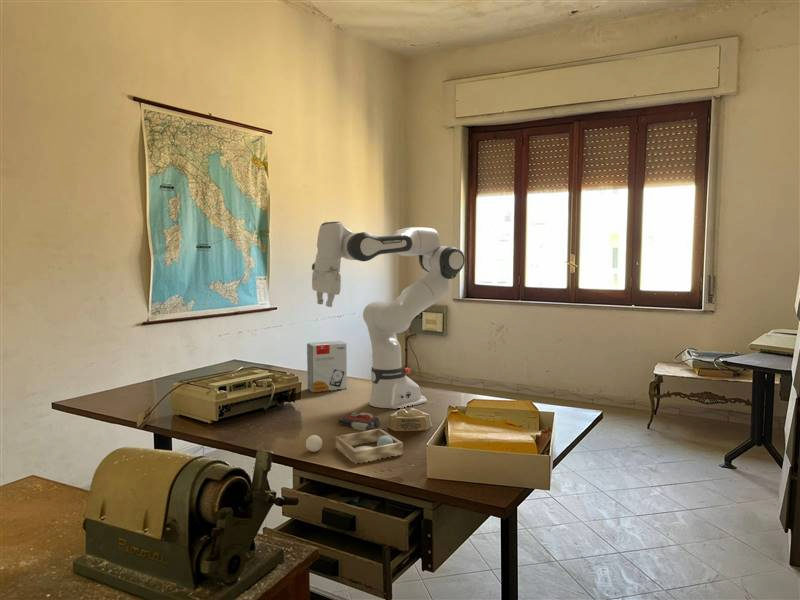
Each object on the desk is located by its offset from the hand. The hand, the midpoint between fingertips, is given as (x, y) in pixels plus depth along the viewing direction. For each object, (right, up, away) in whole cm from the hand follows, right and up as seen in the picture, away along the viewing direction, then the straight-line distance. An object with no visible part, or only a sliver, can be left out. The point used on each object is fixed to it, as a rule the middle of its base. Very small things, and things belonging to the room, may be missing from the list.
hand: (324, 305), depth 201 cm
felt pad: (+16, -43, -34) cm, 57 cm away
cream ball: (+2, -43, -34) cm, 55 cm away
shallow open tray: (+18, -43, -35) cm, 58 cm away
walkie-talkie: (+16, -41, -12) cm, 46 cm away
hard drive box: (-4, -36, +39) cm, 54 cm away
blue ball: (+23, -43, -36) cm, 60 cm away
